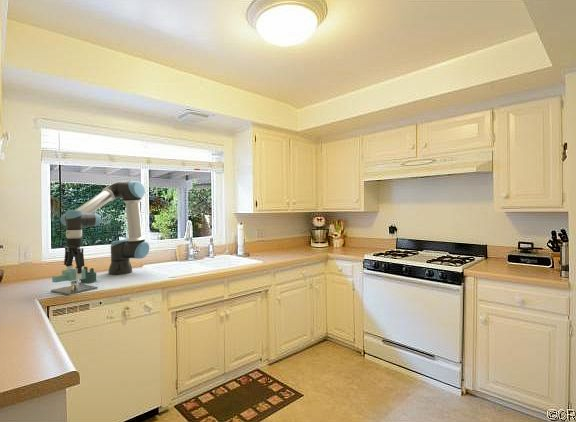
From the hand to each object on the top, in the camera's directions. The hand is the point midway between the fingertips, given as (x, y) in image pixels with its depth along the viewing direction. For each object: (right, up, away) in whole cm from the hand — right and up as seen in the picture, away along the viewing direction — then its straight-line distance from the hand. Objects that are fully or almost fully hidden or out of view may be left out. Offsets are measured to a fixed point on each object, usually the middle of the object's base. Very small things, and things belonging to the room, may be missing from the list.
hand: (74, 278), depth 178 cm
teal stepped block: (-1, 0, -3) cm, 3 cm away
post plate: (0, -6, 0) cm, 6 cm away
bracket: (-6, -7, +21) cm, 23 cm away
